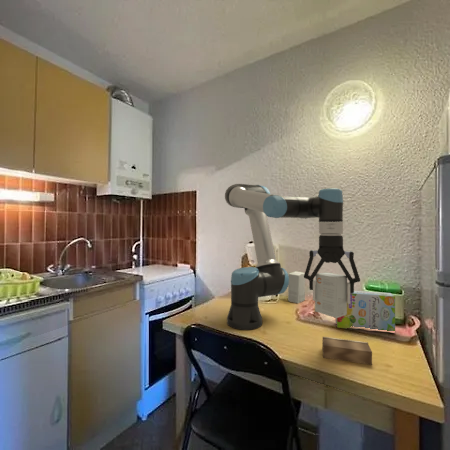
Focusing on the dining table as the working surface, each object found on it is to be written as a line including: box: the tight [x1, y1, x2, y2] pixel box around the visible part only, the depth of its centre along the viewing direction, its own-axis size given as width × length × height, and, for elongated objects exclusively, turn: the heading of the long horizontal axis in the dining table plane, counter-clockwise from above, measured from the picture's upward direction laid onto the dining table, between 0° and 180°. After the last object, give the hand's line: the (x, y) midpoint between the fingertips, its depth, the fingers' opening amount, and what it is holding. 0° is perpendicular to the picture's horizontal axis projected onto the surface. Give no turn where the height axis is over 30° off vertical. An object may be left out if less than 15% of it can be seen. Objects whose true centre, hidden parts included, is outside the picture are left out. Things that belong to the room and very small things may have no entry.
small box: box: [314, 272, 348, 319], centre depth 88 cm, size 8×6×13 cm
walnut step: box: [321, 336, 373, 366], centre depth 86 cm, size 14×6×4 cm, turn 72°
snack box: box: [335, 290, 396, 332], centre depth 108 cm, size 21×6×15 cm, turn 73°
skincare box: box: [287, 270, 306, 304], centre depth 145 cm, size 8×7×16 cm
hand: (331, 301), depth 88 cm, fingers closed on small box, 10 cm apart
